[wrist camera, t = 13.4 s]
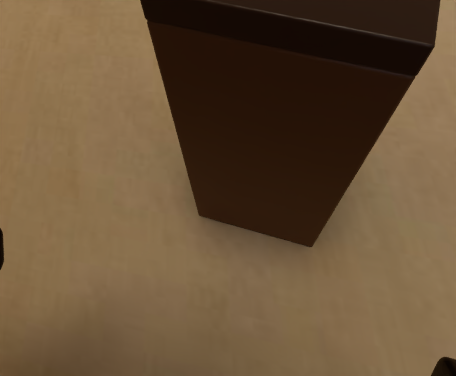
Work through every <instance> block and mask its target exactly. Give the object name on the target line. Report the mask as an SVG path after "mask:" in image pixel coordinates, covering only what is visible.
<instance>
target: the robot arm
mask: <svg viewBox="0 0 456 376" xmlns="http://www.w3.org/2000/svg"><path fill="white" fill-rule="evenodd" d="M3 262H4V248H3V232H2V230H1V228H0V270H1V268H2V265H3ZM431 376H456V360H455V359H452V358H448V357H443V358H441V359H440V360H439V361H438V362H437V364H436V366H435V368H434V370H433V372H432V374H431Z"/></svg>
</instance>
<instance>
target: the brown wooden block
mask: <svg viewBox="0 0 456 376" xmlns="http://www.w3.org/2000/svg"><path fill="white" fill-rule="evenodd" d="M140 1H141V5H142V8H143V12H144V16H145V18H146V19H147V20H148V21H147V24H148V28H149V32H150V35H151V39H152V43H153V46H154V50H155V54H156V58H157V61H158V65H159V69H160V72H161V76H162V80H163V84H164V87H165V91H166V95H167V98H168V102H169V106H170V110H171V113H172V117H173V121H174V124H175V128H176V132H177V135H178V139H179V143H180V147H181V150H182V154H183V158H184V161H185V165H186V169H187V173H188V176H189V180H190V184H191V187H192V191H193V195H194V199H195V202H196V206H197V210H198V213H199V215H200V216H203V217H206V218H210V219H213V220H217V221H221V222H224V223H228V224H231V225H235V226H238V227H242V228H245V229H249V230H253V231H256V232H260V233H263V234H267V235H270V236H274V237H277V238H281V239H284V240H288V241H292V242H295V243H299V244H302V245H306V246H309V247H312V246H313V244H314V242H315V241H316V239H317V237H318V236H319V234H320V233H321V231H322V229H323V228H324V226H325V224H326V223H327V221H328V219H329V218H330V216H331V215H332V213H333V211H334V210H335V208H336V206H337V205H338V203H339V201H340V200H341V198H342V196H343V195H344V193H345V192H346V190H347V188H348V187H349V185H350V183H351V182H352V180H353V178H354V177H355V175H356V174H357V172H358V170H359V169H360V167H361V165H362V164H363V162H364V160H365V159H366V157H367V155H368V154H369V152H370V151H371V149H372V147H373V146H374V144H375V142H376V141H377V139H378V137H379V136H380V134H381V133H382V131H383V129H384V128H385V126H386V124H387V123H388V121H389V119H390V118H391V116H392V115H393V113H394V111H395V110H396V108H397V106H398V105H399V103H400V101H401V100H402V98H403V96H404V95H405V93H406V92H407V90H408V88H409V87H410V85H411V83H412V82H413V80H414V78H415V76H416V75H417V74H418V73H419V71H420V70H421V68H422V66H423V65H424V63H425V61H426V60H427V58H428V57H429V55H430V53H431V52H432V50H433V48H434V47H435V39H436V31H437V22H438V14H439V6H440V0H140Z"/></svg>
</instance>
